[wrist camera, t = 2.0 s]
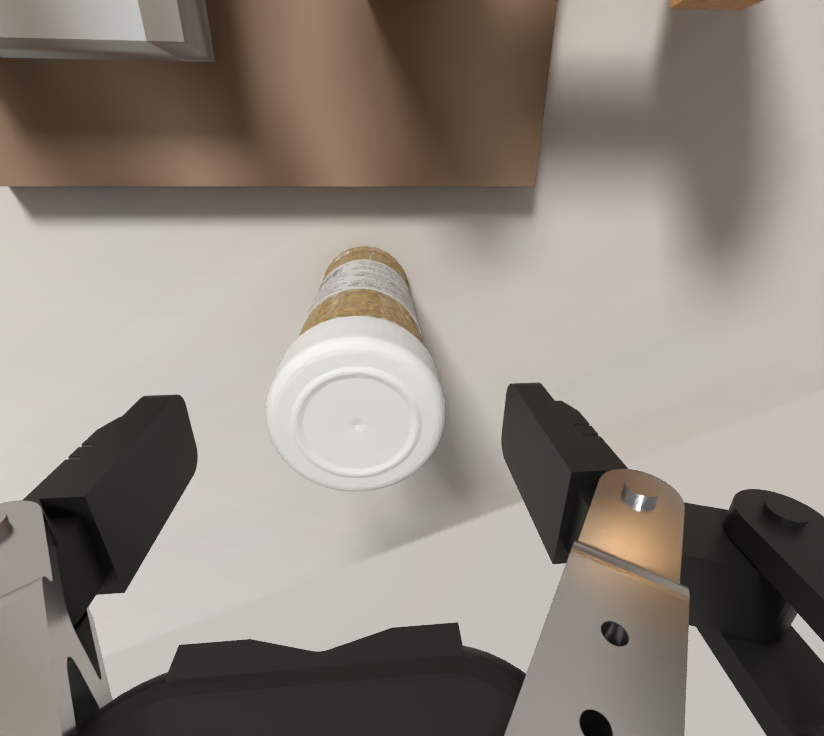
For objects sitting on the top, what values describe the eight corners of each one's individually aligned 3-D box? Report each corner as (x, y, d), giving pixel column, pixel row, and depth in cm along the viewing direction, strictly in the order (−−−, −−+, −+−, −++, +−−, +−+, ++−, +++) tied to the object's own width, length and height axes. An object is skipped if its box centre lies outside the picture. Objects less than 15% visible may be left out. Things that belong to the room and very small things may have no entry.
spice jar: (361, 343, 24) (347, 525, 12) (304, 280, 22) (218, 418, 10) (426, 293, 23) (484, 435, 11) (372, 224, 21) (368, 300, 9)
